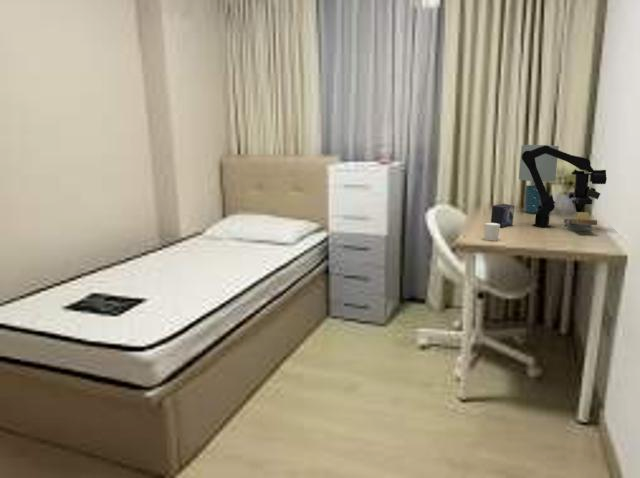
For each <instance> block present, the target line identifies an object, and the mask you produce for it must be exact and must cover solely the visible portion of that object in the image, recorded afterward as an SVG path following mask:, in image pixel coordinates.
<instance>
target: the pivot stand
mask: <svg viewBox="0 0 640 478" xmlns="http://www.w3.org/2000/svg"><path fill="white" fill-rule="evenodd" d="M570 222H571V221H570V220H568V221H567V223H565V226H566V230H567V231H569V232H578V233H577V235H578V236H585V235H593V236H594V233H592V230H593V225H581V224H570ZM586 231H591V232H586Z"/></svg>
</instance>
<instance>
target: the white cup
mask: <svg viewBox="0 0 640 478" xmlns="http://www.w3.org/2000/svg"><path fill="white" fill-rule="evenodd" d="M483 224H484V225H483V230H484V231H483V232H484V235H483V237H484V240H486V241H492V242H493V241H495V242H497V241H498V239H499V233H500V230H501V228H500V224H498V223H491V222H484V223H483Z"/></svg>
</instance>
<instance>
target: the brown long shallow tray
mask: <svg viewBox="0 0 640 478" xmlns="http://www.w3.org/2000/svg"><path fill="white" fill-rule="evenodd" d="M568 220H570V221H571V222H570V224H581V225H592V226H597V225H598V220H597V219H589V220H577V219H573V218H564V219H563V224H566V223H567V221H568Z"/></svg>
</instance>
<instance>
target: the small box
mask: <svg viewBox="0 0 640 478" xmlns="http://www.w3.org/2000/svg"><path fill="white" fill-rule="evenodd" d="M491 208H492V209H491V217H490V218H491V219H490V223H498V224H500V229H501V228H506V227H507V226H508V227H512V226H513V222H514V212H515V211H514V210H515V205H512V204H507V203H500V204H494V205H492V206H491ZM508 227H507V228H508Z"/></svg>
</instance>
